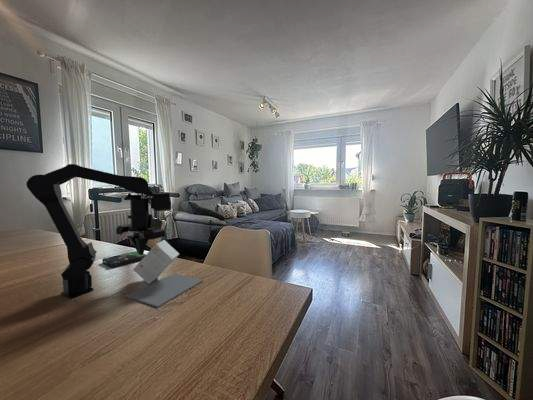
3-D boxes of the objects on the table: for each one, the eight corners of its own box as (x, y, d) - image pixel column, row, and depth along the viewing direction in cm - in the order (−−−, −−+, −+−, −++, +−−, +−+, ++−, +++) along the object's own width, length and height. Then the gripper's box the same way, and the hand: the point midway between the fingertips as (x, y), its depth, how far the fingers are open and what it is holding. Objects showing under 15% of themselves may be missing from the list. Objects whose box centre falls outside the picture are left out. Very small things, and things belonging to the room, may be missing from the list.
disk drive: (112, 270, 97) (147, 260, 109) (111, 263, 96) (147, 254, 108) (102, 264, 103) (136, 255, 115) (101, 258, 102) (136, 250, 114)
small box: (157, 277, 89) (180, 253, 88) (148, 285, 83) (172, 259, 81) (142, 263, 89) (164, 239, 88) (132, 269, 82) (155, 243, 81)
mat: (157, 307, 68) (157, 306, 68) (126, 297, 74) (126, 295, 74) (202, 281, 86) (202, 280, 86) (174, 274, 92) (174, 273, 92)
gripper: (176, 211, 87) (177, 252, 88) (141, 208, 94) (143, 245, 96) (150, 215, 77) (152, 261, 78) (114, 211, 84) (116, 253, 86)
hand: (141, 254), depth 85 cm, fingers closed
